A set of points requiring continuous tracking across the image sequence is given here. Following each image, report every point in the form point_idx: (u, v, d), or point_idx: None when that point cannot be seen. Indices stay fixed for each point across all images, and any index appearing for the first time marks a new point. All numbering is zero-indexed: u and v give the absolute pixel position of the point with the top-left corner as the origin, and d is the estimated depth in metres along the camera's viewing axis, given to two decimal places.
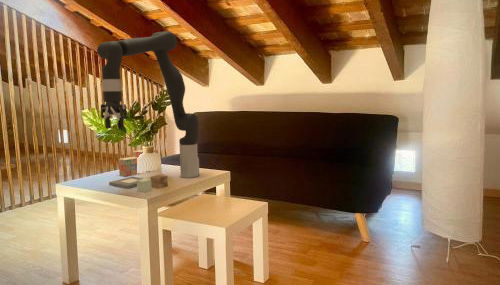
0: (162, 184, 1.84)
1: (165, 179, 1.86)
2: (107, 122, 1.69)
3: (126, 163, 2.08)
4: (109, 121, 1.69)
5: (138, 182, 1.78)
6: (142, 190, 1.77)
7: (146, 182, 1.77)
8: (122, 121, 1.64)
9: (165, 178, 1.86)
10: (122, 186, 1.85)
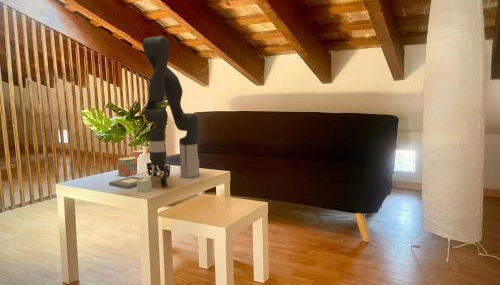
0: None
1: None
2: None
3: (125, 164, 2.07)
4: None
5: (138, 182, 1.78)
6: (142, 190, 1.77)
7: (146, 182, 1.77)
8: (165, 179, 1.84)
9: None
10: (122, 186, 1.85)
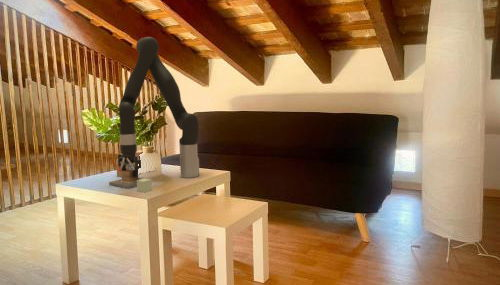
0: (132, 179, 1.90)
1: None
2: (123, 170, 1.93)
3: None
4: (125, 169, 1.94)
5: (138, 182, 1.78)
6: (142, 190, 1.77)
7: (146, 182, 1.77)
8: (137, 170, 1.89)
9: None
10: (122, 186, 1.85)
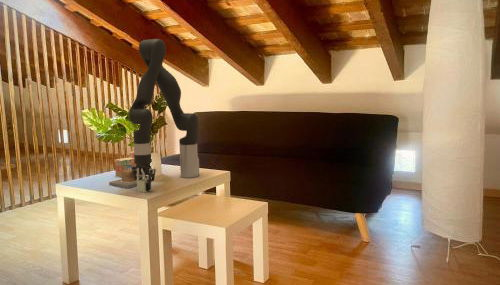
0: (132, 179, 1.90)
1: None
2: None
3: (122, 164, 2.06)
4: None
5: (138, 182, 1.77)
6: (142, 190, 1.77)
7: None
8: (149, 183, 1.77)
9: None
10: (122, 186, 1.85)
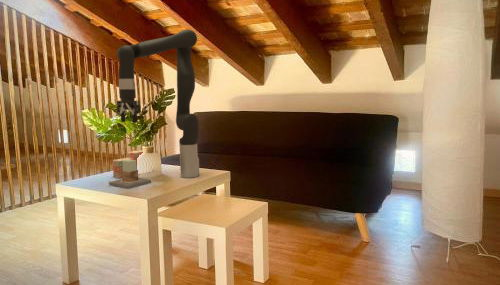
0: (132, 179, 1.90)
1: (136, 173, 1.91)
2: (122, 116, 1.92)
3: (120, 165, 2.04)
4: (124, 115, 1.93)
5: (124, 162, 1.90)
6: (127, 170, 1.89)
7: (131, 162, 1.89)
8: (136, 115, 1.87)
9: (136, 173, 1.91)
10: (122, 186, 1.85)
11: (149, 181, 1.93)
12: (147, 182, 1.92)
